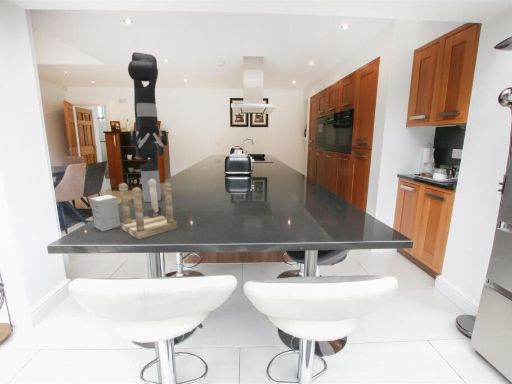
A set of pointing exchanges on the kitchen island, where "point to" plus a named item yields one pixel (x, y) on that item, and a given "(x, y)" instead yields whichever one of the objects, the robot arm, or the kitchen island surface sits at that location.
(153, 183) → the folding leg
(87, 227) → the kitchen island surface
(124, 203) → the wooden post rack
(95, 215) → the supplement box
